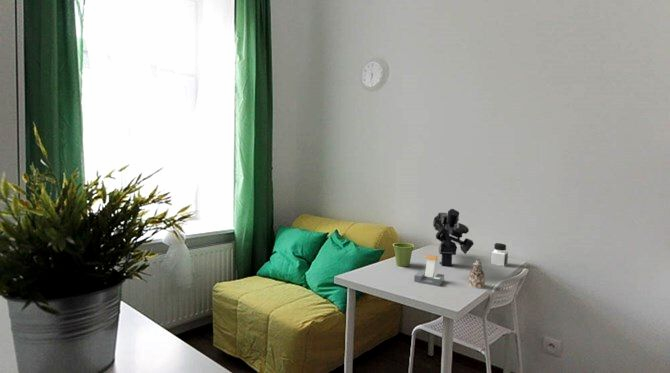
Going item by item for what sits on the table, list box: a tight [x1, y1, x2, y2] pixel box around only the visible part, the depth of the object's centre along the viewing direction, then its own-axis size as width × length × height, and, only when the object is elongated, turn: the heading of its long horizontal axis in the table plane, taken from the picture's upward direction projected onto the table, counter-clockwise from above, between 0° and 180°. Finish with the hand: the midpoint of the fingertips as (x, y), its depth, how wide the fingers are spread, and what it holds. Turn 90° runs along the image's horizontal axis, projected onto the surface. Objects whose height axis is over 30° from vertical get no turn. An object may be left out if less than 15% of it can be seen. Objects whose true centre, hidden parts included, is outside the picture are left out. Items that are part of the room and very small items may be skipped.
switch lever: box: [424, 253, 439, 278], centre depth 181 cm, size 3×5×10 cm, turn 60°
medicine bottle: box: [490, 242, 509, 267], centre depth 212 cm, size 7×7×12 cm
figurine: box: [468, 259, 486, 289], centre depth 175 cm, size 7×7×12 cm
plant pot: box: [392, 242, 415, 267], centre depth 207 cm, size 12×12×11 cm
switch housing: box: [413, 270, 445, 287], centre depth 180 cm, size 9×12×3 cm
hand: (457, 249), depth 184 cm, fingers open, 9 cm apart
